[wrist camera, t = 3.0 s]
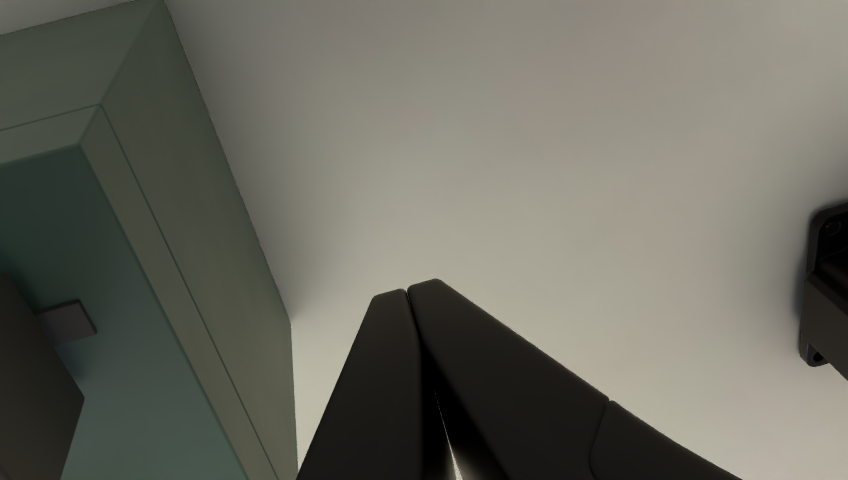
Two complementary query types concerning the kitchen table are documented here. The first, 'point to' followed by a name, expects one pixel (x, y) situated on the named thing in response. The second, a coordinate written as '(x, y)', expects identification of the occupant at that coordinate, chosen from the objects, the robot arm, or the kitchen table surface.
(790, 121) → the kitchen table surface
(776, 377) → the kitchen table surface
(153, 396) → the toaster
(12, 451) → the slider
